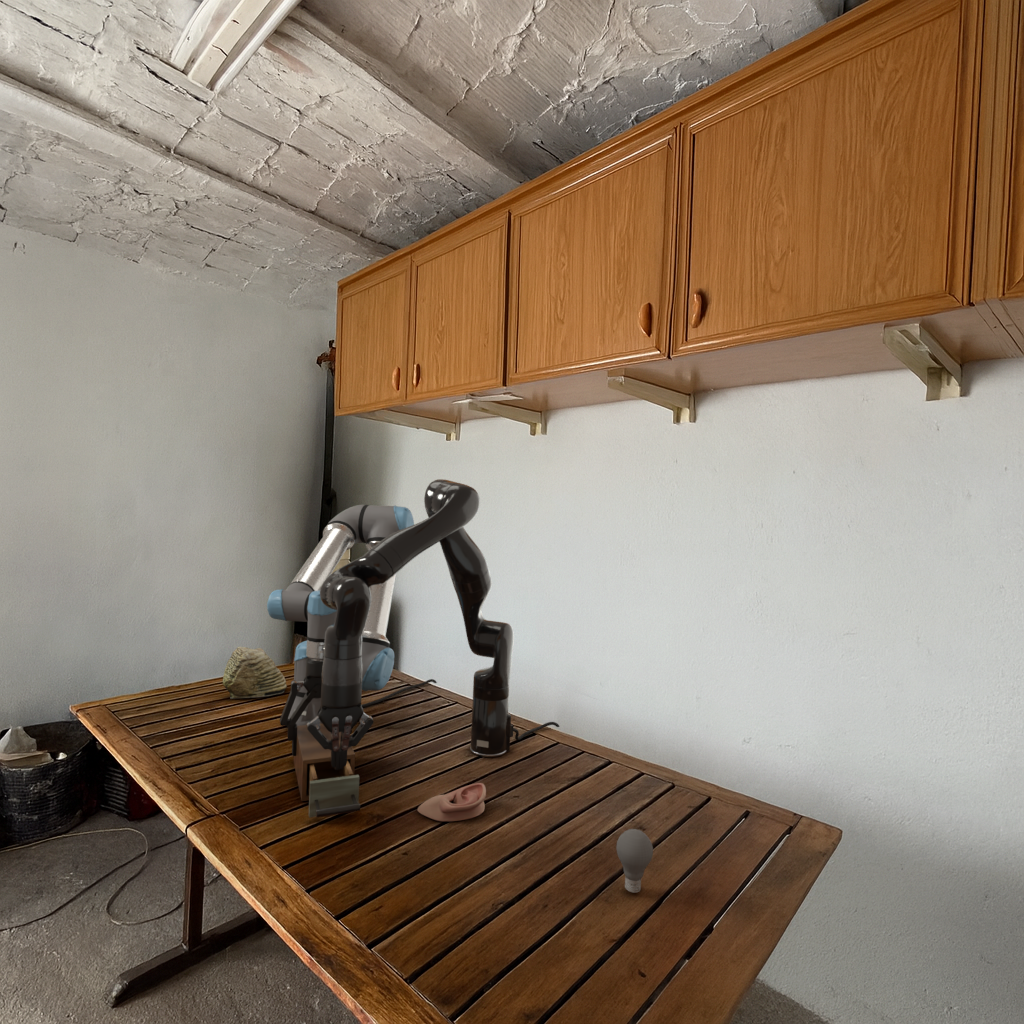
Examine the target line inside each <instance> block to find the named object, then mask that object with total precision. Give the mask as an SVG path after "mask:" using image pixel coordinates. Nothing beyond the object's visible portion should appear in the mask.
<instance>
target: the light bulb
mask: <svg viewBox="0 0 1024 1024" xmlns="http://www.w3.org/2000/svg"><path fill="white" fill-rule="evenodd" d="M615 849H616V854H617V857H618V859H619V861H620V863H621V865H622V867H623V873H624V874H623V875H624V876H625V878H624V888H625V890H627V891H628V892H630V893H634V894H635V893H639V892H640V891H641V889H642V887H641V886H642V879H643V877H644V875H645V871H646V868H647V867H648V866H649V864H650V863H651V861H652V859H653V855H654V847H653V843H652V841H651V838H649V836H648V835H647V834H646V833H645V832H643V831H642V830H641V829H636V828H629V829H627V830H625V831H623V832H622V833H621V834H620V835H619V837H618V839H617V841H616V847H615Z"/></svg>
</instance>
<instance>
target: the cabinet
mask: <svg viewBox="0 0 1024 1024" xmlns="http://www.w3.org/2000/svg"><path fill="white" fill-rule="evenodd" d="M320 726H321V728H320V731H321V732H322V734H323V735H324V736H325V737H326V738H327V740H331V735H330V732H329V731H328V730H327V729H326V728H325V726H324V725H323V724H320ZM340 738H341V732H339V747H340ZM347 759H348V762H349V764H350V767H351V769H352V772H353V775H355V767H356V766H355V765H356V763H355V762H356V753H355V751H354V748H353V746H351V747H349V748H348V750H347ZM327 761H331V750H330V749H324V748H323V747H322V746H321V745H320V744H319V742H318V741H317V740H316V739H315V738H314V737H313V735H312V734H311V733H310V732H309V731H308V729H307V725H303V726H297V748H296V756H293V765H294V769H295V775H296V781H297V786H298V792H299V796H300V800H301V801H300V802H307V801H309V792H308V788H307V764H311V763H319V762H327Z"/></svg>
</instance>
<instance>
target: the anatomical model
mask: <svg viewBox="0 0 1024 1024" xmlns="http://www.w3.org/2000/svg"><path fill="white" fill-rule="evenodd" d="M486 797H487V788H486V785H485V784H484V783H483V782H476V783H472V784H469V785H465V786H462V787H460V788H458V789H455V790H453V791H450V792H447V793H445V794H438V795H435V796H432V797H430V798H429V799H427V800H425V801H424V802H422V803H421V804H420V805H419V806H418V807H417V812H418V813H419V814H420V815H422V816H424V817H426V818H428V819H431V820H434V821H437V822H457V821H464V820H469V819H473V818H476V817H478V816H480V815H482V814H483V813H484V811H485V809H486V806H485V805H486V804H485V799H486Z"/></svg>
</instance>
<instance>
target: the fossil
mask: <svg viewBox="0 0 1024 1024" xmlns="http://www.w3.org/2000/svg"><path fill="white" fill-rule="evenodd" d="M222 676H223V677H222V685H223V687H224V688H225V690H226V691H228V693H229V698H230V699H250V698H264V697H271V696H275V695H281V694H284V693H285V691H286V689H287V687H288V686H287V680H286V678H285V676H284V674H283V673H282V672H281V669H279V668H278V667H277V665H276V663H275V662H274V660H273V659H272V658H271V657H270V656H269V655H268V654H267V653H266V652H265V650H264V649H263V648H260V647H258V648H251V647H247V646H246V647H245V646H238V647H237V648H236V649H235V650H233V651H232V653H231V656H230V657H229V659H228V660H227V663H226V666H225V668H224V671H223V675H222Z"/></svg>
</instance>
